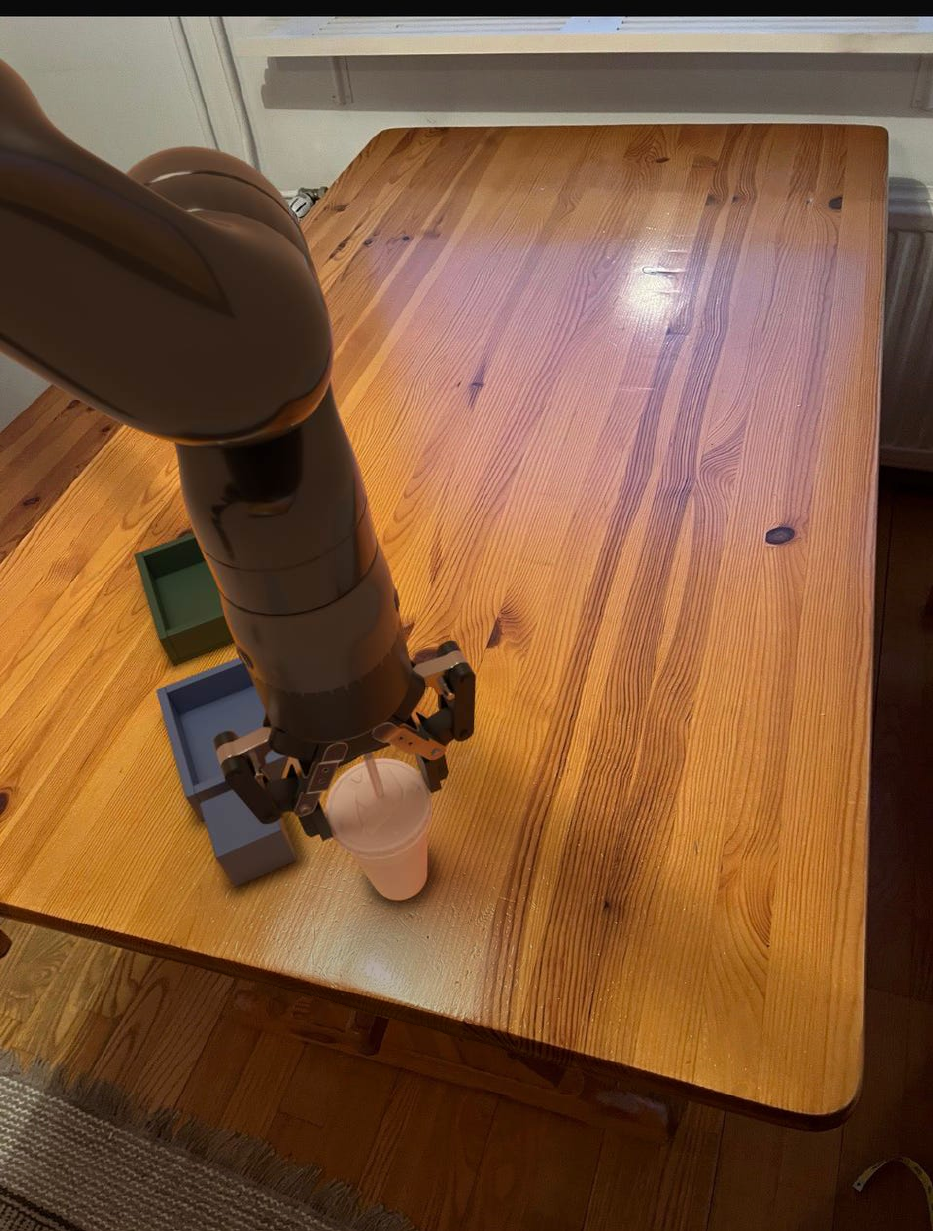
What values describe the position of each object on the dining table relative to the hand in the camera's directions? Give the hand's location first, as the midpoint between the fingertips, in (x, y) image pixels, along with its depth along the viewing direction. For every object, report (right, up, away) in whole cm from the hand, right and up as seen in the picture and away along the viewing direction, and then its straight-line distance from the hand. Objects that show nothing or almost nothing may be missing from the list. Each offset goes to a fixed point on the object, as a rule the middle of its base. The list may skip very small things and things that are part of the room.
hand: (377, 802), depth 55 cm
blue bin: (-11, +2, +16) cm, 19 cm away
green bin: (-16, +13, +26) cm, 33 cm away
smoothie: (+1, -6, +7) cm, 10 cm away
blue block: (-9, -5, +10) cm, 14 cm away
